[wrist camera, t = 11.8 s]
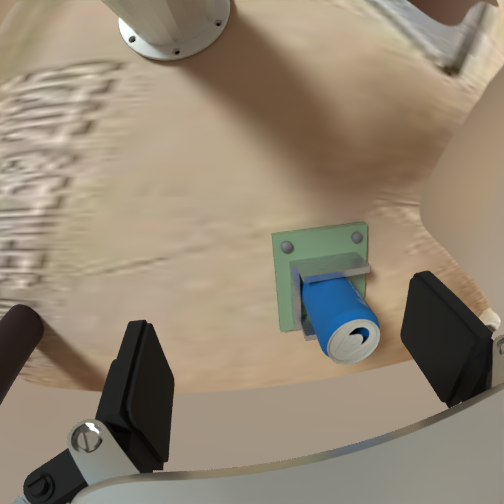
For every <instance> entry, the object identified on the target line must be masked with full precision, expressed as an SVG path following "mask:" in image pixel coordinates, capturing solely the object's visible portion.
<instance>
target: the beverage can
mask: <svg viewBox="0 0 504 504" xmlns="http://www.w3.org/2000/svg"><path fill="white" fill-rule="evenodd" d="M301 298H302V300H303V303H304V306H305V308H306V311H307V313H308V316H309V318H310V321H311V323H312V326H313V328H314V331H315V333H316V336H317V339H318V341H319V344H320V346H321V349H322V351H323V352H324V353H325V354H326V355H327V356H328V357H330V358H331V359H332V360H333V361H334V362H336V363H338V364H345V365H347V364H353V363H357V362H359V361H361V360H363V359H365V358H366V357H368V356H369V355H370V354H371V353H372V352H373V351H374V350H375V348H376V347H377V345H378V343H379V340H380V331H379V322H378V319H377V317H376V316H375V315H374V313H373V312H372V310H371V309H370V307H369V306H368V305H367V303H366V302H365V300H364V299H363V298H362V296H361V295H360V293H359V292H358V291H357V289H356V288H355V286H354V285H353V284H352V282H351V281H350V280H349V278H348V277H341V278H335V279H329V280H322V281H316V282H310V283H304V282H303V284H302V287H301Z"/></svg>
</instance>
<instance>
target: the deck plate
mask: <svg viewBox="0 0 504 504" xmlns="http://www.w3.org/2000/svg"><path fill="white" fill-rule="evenodd" d="M272 244H273V255H274V266H275V277H276V288H277V300H278V312H279V324H280V330H281V332H284V331H290V330H295V327H294V324H293V319H292V301H291V284H290V269H289V261H293V260H300V259H307V258H314V257H321V256H328V255H334V254H341V253H348V252H355V251H356V252H357V253H358V254H359V255H360V256H361V257H362V258H363V259H364V260H365V261H366V256H367V223H365V222H358V223H350V224H342V225H334V226H326V227H318V228H310V229H302V230H294V231H286V232H279V233H272ZM365 276H366V273H364V274H359V275H353V276H347V277H348V278H349V280H350V281H351V282H352V284H353V285H354V286H355V288H356V289H357V291H358V292H359V293H360V295H361V296H362V298H363V299H364V292H365ZM299 277H300V300H301V315H307V314H308V313H307V311H306V308H305V306H304V303H303V300H302V298H301V287H302V284H303V280H302V278H301V276H300V274H299Z"/></svg>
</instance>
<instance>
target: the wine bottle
mask: <svg viewBox="0 0 504 504" xmlns="http://www.w3.org/2000/svg"><path fill="white" fill-rule="evenodd" d="M42 336H43V325H42V322H41V320H40V318H39V317H38V316H37V314H36V313H35V312H34V311H33V310H32V309H30V308H29V307H27V306H25V305H21V304H18V305H15V306H13V307H12V308H11V309H10V310H9V311H8V312H7V313H6V315H5V316H4V317H3V318H2V319H1V320H0V405H1V403H2V401H3V399H4V398H5V396H6V394H7V392H8V391H9V389H10V387H11V386H12V384H13V382H14V380H15V379H16V377H17V376H18V374H19V372H20V371H21V369H22V367H23V366H24V364H25V363H26V361H27V359H28V358H29V356H30V355H31V353H32V352H33V350H34V349H35V347H36V346H37V344H38V343H39V341H40V340H41V338H42Z"/></svg>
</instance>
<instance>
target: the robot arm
mask: <svg viewBox="0 0 504 504" xmlns="http://www.w3.org/2000/svg"><path fill="white" fill-rule="evenodd" d="M101 1H102V2H103V3H104V4H105V5H107V6H108V7H109V8H110V9H111V10H112V11H113V12H114V13H115V14H116V15H117V16H118V17H119V20H118V24H119V30H120V33H121V36H122V38H123V40H124V41H125V42H126V44H127V45H128V46H129V47H130V48H131V49H132V50H134V51H135V52H137V53H138V54H140V55H142V56H144V57H147V58H149V59H155V60H166V61H171V60H177V59H183V58H186V57H189V56H192V55H194V54H196V53H198V52H200V51H202V50H204V49H205V48H207V47H208V46H210V45H211V44H212V43H213V42H214V41H215V40H216V39H217V38H218V37H219V36H220V34H221V33H222V32H223V30H224V29H225V26H226V24H227V22H228V19H229V15H230V0H101ZM217 24H221V25H220V26H216V25H217ZM134 39H136V40H135V42H133V43H132V41H133V40H134ZM177 51H179V52H180V53H179V54H178V55H176V54H175V53H176V52H177ZM492 334H493V333H492V332H491V331H490V330H489V329H488V328H487V327H486V326H485V325H484V323H483V322H482V321H481V320H480V319H479V318H478V317H477V316H476V315H475V314H474V313H473V312H472V311H471V310H470V309H469V308H468V307H467V306H466V305H465V304H464V303H463V302H462V301H461V300H460V299H459V298H458V297H457V296H456V295H455V294H454V293H453V292H452V291H451V290H450V289H448V288H447V287H446V286H445V285H444V284H443V283H442V282H441V281H440V280H439V279H438V278H437V277H436V276H435V275H434V274H432V273H431V272H430V271H423V272H419V273H416V274H414V276H413V278H411V280H410V284H409V290H408V296H407V302H406V308H405V313H404V319H403V324H402V329H401V340H402V342H403V344H404V345H405V347H406V348H407V350H408V351H409V352H410V354H411V355H412V357H413V358H414V360H415V361H416V363H417V364H418V366H419V368H420V369H421V371H422V372H423V373H424V375H425V377H426V378H427V380H428V381H429V383H430V384H431V386H432V388H433V389H434V391H435V392H436V394H437V396H438V397H439V399H440V400H441V401H442V402H445V403H446V405H447V406H448V408H449V409H447V410H445V411H443V412H441V413H438V414H436V415H434V416H431V417H429V418H427V419H424V420H422V421H419V422H417V423H414V424H412V425H409V426H406V427H404V428H401V429H398V430H395V431H392V432H390V433H387V434H384V435H381V436H378V437H375V438H372V439H369V440H365V441H362V442H359V443H356V444H352V445H348V446H345V447H341V448H337V449H334V450H329V451H325V452H321V453H317V454H313V455H308V456H303V457H298V458H293V459H288V460H283V461H277V462H271V463H264V464H258V465H250V466H242V467H233V468H222V469H211V470H198V471H179V472H158V473H153V470H163V464H164V462H167V461H168V457H169V443H170V429H171V417H172V406H173V395H174V377H173V374H172V372H171V369H170V367H169V365H168V362H167V360H166V357H165V355H164V353H163V350H162V348H161V345H160V343H159V340H158V337H157V335H156V332H155V330H154V327H153V325H152V324H151V323H147V321H146V320H138V321H130V322H129V323H128V326H127V329H126V332H125V335H124V338H123V341H122V344H121V347H120V350H119V353H118V356H117V359H115V360H113V361H112V364H111V366H110V369H109V372H108V376H107V379H106V382H105V385H104V389H103V392H102V396H101V399H100V403H99V406H98V410H97V413H96V417H95V419H87V420H83V421H80V422H78V423H77V424H76V425H75V426H73V427H72V429H71V430H70V432H69V433H68V436H67V446H68V448H67V449H66V450H65V451H63V452H62V453H60V454H59V455H57V456H56V457H54V458H53V459H51V460H50V461H48V462H47V463H45V464H44V465H42V466H41V467H39V468H38V469H36V470H35V471H33V472H32V473H31V474H30V475H28V477H27V478H26V480H25V482H24V486H23V488H24V489H23V490H24V496H23V497H20V496H18V498H16V500H15V501H14V502H13V503H12V504H504V335H500V336H498V337H496V338H495V340H494V341H493V340H492V339H491V337H492ZM460 402H462V403H460ZM459 403H460V404H459ZM457 404H458V405H457ZM455 405H456V406H455ZM453 406H454V407H453ZM451 407H452V408H451Z"/></svg>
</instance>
